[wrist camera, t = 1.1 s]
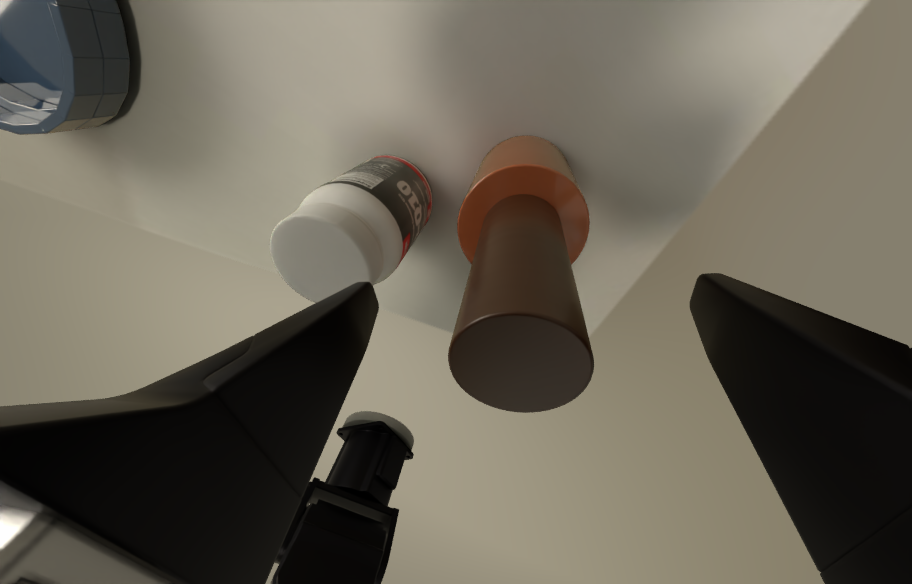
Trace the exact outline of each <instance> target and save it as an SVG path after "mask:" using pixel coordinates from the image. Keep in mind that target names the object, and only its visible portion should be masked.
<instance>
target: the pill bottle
mask: <svg viewBox="0 0 912 584" xmlns="http://www.w3.org/2000/svg"><path fill="white" fill-rule="evenodd" d="M431 210H432V193H431V189H430V186H429V184H428V182H427V180H426V178H425V177H424V175H423V174H422V173H421V172H420V170H419V169H418V168H417V167H415V166H414V165H413V164H412V163H410V162H408V161H406V160H404V159H402V158H399V157H396V156H391V155H381V156H376V157H373V158H371V159H369V160H367V161H365V162H363V163H362V164H360V165H358V166H357V167H355V168H353V169H351V170H349V171H348V172H346V173H344V174H342V175H340V176H338V177H337V178H335V179H333V180H331V181H330V182H328V183H326V184H324V185H322V186H320V187H318V188H317V189H315V190H314V191H313V192H311V193H310V194H309V195H308V196H307V197H306V198H305V199H304V200H303V202H302V203H301V205H300V207H299V208H298V209H297V210H295V211H294V212H293V213H292V214H291V215H289V216H288V217H286V218H285V219H283V220H282V221H281V222H280V223H279V224H278V225H277V226H276V227H275V228H274V230H273V233H272V235H271V239H270V252H271V257H272V260H273V263H274V265H275V267H276V269H277V271H278V272H279V274H280V275H281V277H282V278H283V279H284V280H285V282H286V283H287V284H288V285H289V286H290V287H291V288H292V289H294V290H295V291H296V292H297V293H299V294H300V295H302V296H303V297H305V298H306V299H308V300H310V301H313V302H315V303H317V302H319V301H321V300H323V299H325V298H327V297H329V296H331V295H333V294H335V293H337V292H339V291H341V290H343V289H344V288H346V287H348V286H350V285H352V284H354V283H356V282H370V283H371V284H372V286H373V285H374V284H377V283H379V282H381V281H383V280H385V279H386V278H387V277H389V276H390V275H391V274H392V273H393V272H394V270H395V269H396V268H397V267H398V265H399V264H400V262H401V261H402V259H403V258H404V256H405V254H406V253H407V252H408V250H409V248H410V247H411V245H412V244H413V242H414V241H415V239H416V238H417V236H418V235H419V233H420V232H421V230H422V229H423V227H424V226H425V224H426V223H427V221H428V219H429V217H430V214H431Z"/></svg>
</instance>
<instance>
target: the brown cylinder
mask: <svg viewBox="0 0 912 584" xmlns="http://www.w3.org/2000/svg"><path fill="white" fill-rule="evenodd" d="M448 361H449V366H450V370H451V372H452V375H453V377H454V378H455V380H456V382H457V383H458V384H459V385H460V387H461V388H462V389H463V390H464V391H465V392H467V393H468V394H469V395H470V396H472V397H474V398H475V399H477V400H478V401H480V402H482V403H484V404H486V405H489V406H492V407H495V408H498V409H502V410H506V411H513V412H525V413H526V412H541V411H546V410H550V409H554V408H557V407H560V406H562V405H565V404H567V403H569V402H570V401H572V400H573V399H575V398H576V397H578V396H579V395H580V394H581V393H582V392H583V391H584V390H585V388H586V387H587V385H588V384H589V382H590V380H591V377H592V374H593V370H594V359H593V354H592V350H591V345H590V341H589V337H588V333H587V329H586V325H585V320H584V316H583V312H582V308H581V304H580V300H579V296H578V291H577V287H576V283H575V279H574V275H573V271H572V266H571V262H570V258H569V254H568V250H567V246H566V241H565V237H564V233H563V229H562V225H561V221H560V218H559V215H558V213H557V212H556V210H555V209H554V208H553V206H552V205H551V204H549V203H548V202H547V201H545V200H544V199H542V198H540V197H537V196H534V195H529V194H518V195H512V196H509V197H506V198H504V199H502V200H500V201H499V202H497V203H496V204H495V205H494V206H493V207H492V208H491V209H490V210H489V211H488V213H487V215H486V217H485V219H484V221H483V225H482V228H481V232H480V236H479V240H478V243H477V247H476V251H475V254H474V258H473V262H472V266H471V269H470V273H469V277H468V280H467V284H466V288H465V292H464V295H463V299H462V303H461V306H460V310H459V314H458V318H457V321H456V325H455V329H454V332H453V336H452V340H451V344H450V347H449V353H448Z"/></svg>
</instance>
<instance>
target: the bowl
mask: <svg viewBox="0 0 912 584" xmlns="http://www.w3.org/2000/svg"><path fill="white" fill-rule="evenodd" d="M129 58H130V57H129V52H128V44H127V38H126V33H125V28H124V23H123V20H122V16H121V13H120V10H119V6H118V3H117V0H0V129H2V130H5V131H9V132H12V133H16V134H19V135H28V134H48V133H55V132H63V131H70V130H77V129H85V128H92V127H98V126H100V125H102V124H103V123H105V122H106V121H108V120H110V119H111V118H113V117H115V116H116V115H117V114H118V112H119V110H120V108H121V106H122V104H123V102H124V99H125V97H126V95H127V92H128V86H129V69H130V59H129Z"/></svg>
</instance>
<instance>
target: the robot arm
mask: <svg viewBox="0 0 912 584" xmlns="http://www.w3.org/2000/svg"><path fill="white" fill-rule="evenodd" d="M378 309H379V305H378V301H377V298H376V294H375V291H374V288H373V286H372V284H371V283H370V282H356V283H354V284H352V285H350V286H348V287H346V288H344V289H343V290H341V291H339V292H337V293H335V294H333V295H331V296H329V297H327V298H325V299H323V300H321V301H319V302H317V303H315V304H313V305H311V306H309V307H307V308H306V309H304V310H302V311H300V312H298V313H296V314H294V315H292V316H290V317H288V318H286V319H284V320H282V321H280V322H278V323H276V324H274V325H272V326H271V327H269V328H267V329H265V330H263V331H261V332H259V333H257V334H255V335H254V336H251V337H249V338H247V339H245V340H243V341H241V342H239V343H237V344H235V345H233V346H231V347H229V348H227V349H225V350H223V351H221V352H219V353H217V354H215V355H213V356H211V357H208V358H206V359H204V360H202V361H200V362H198V363H196V364H194V365H192V366H189V367H187V368H185V369H183V370H181V371H178V372H176V373H174V374H172V375H170V376H167V377H165V378H163V379H161V380H159V381H157V382H154V383H152V384H150V385H148V386H146V387H143V388H141V389H138V390H136V391H134V392H131V393H127V394H124V395H120V396H116V397H111V398H105V399H96V400H83V401H71V402H56V403H42V404H29V405H16V406H1V407H0V584H265V583H266V581H267V578H268V576H269V574H270V571H271V569H272V567H273V564H274V562H275V563H278V564H279V566H278V568H277V570H276V572H275V574H274V576H273V579H272V581H271V584H381V582H382V579H383V576H384V574H385V570H386V567H387V564H388V560H389V556H390V551H391V546H392V541H393V536H394V532H395V527H396V522H397V517H398V513H399V509H396V508H390V507H388V503H389V500H390V497H391V493H392V490H394V489H395V488H396V486H397V482H398V479H399V475H400V473H401V469H402V466H403V463H404V460H409V459H412V458H413V455H414V454H413V452H412V451H411V450H410V449H409V448H408V447H407V446H406V445H405V444H404V443H403V442H402V441H401V439H400V438H399V437H398V436H397V435H396V434H395V433H394V432H393V431H392V430H391V429H390V428H389V427H388V426H387V424H386V423H384V422H383V421H376V422H370V423H365V424H359V425H354V426H348V427H343V428H339V429H338V431H337V434H338V435H339V436H340V437H341V438H342V439H343V440H344V441H345V442H344V444H343V447H342V448H341V450H340V452H339V454H338V457H337V459H336V461H335V463H334V465H333V467H332V469H331V471H330V473H329V476H328V477H327V479H326V482H322V481H320V479H318V478H314V479H313V481H312V482H309V481H310V479H311V476H312V474H313V471H314V470H315V467H316V465H317V463H318V460H319V458H320V456H321V453H322V451H323V449H324V446H325V444H326V442H327V440H328V437H329V435H330V432H331V430H332V428H333V426H334V423H335V421H336V419H337V417H338V414H339V412H340V409H341V407H342V405H343V403H344V400H345V398H346V395H347V393H348V391H349V389H350V387H351V384H352V382H353V380H354V377H355V375H356V373H357V370H358V368H359V366H360V363H361V361H362V359H363V356H364V354H365V351H366V349H367V346H368V343H369V340H370V336H371V333H372V330H373V326H374V323H375V320H376V317H377V313H378ZM690 310H691V313H692V316H693V319H694V321H695V324H696V327H697V330H698V332H699V335H700V338H701V341H702V343H703V346H704V349H705V351H706V354H707V357H708V359H709V361H710V363H711V365H712V367H713V369H714V371H715V373H716V375H717V377H718V378H719V381H720V383H721V384H722V386H723V388H724V390H725V392H726V394H727V396H728V398H729V400H730V402H731V404H732V405H733V408H734V409H735V411H736V413H737V415H738V417H739V419H740V421H741V423H742V425H743V427H744V429H745V431H746V433H747V435H748V436H749V438H750V440H751V442H752V444H753V446H754V448H755V450H756V452H757V454H758V456H759V457H760V459H761V461H762V463H763V465H764V467H765V469H766V471H767V473H768V475H769V477H770V479H771V480H772V482H773V484H774V486H775V488H776V490H777V492H778V494H779V496H780V498H781V500H782V502H783V504H784V506H785V507H786V509H787V511H788V513H789V515H790V517H791V519H792V521H793V523H794V525H795V527H796V528H797V531H798V532H799V534H800V536H801V538H802V540H803V542H804V544H805V546H806V548H807V550H808V552H809V554H810V555H811V557H812V559H813V561H814V563H815V565H816V567H817V569H818V570H819V571H820V572H821V573H820V575H821V577H822V579H823V581H824V583H825V584H912V348H909V346H908V345H906V344H903V343H900V342H898V341H895V340H893V339H890V338H887V337H885V336H882V335H879V334H877V333H874V332H872V331H869V330H866V329H864V328H861V327H859V326H856V325H853V324H851V323H848V322H846V321H843V320H840V319H838V318H835V317H833V316H830V315H827V314H825V313H822V312H820V311H817V310H814V309H812V308H809V307H807V306H804V305H801V304H799V303H796V302H793V301H791V300H788V299H785V298H783V297H780V296H778V295H775V294H772V293H770V292H767V291H765V290H762V289H760V288H756V287H754V286H752V285H749V284H747V283H744V282H741V281H739V280H736V279H733V278H731V277H728V276H726V275H723V274H719V273H711V274H701V275H700V276H699V277H698V278H697V281H696V284H695V287H694V290H693V293H692V296H691V300H690ZM309 503H310V505H309Z"/></svg>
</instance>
